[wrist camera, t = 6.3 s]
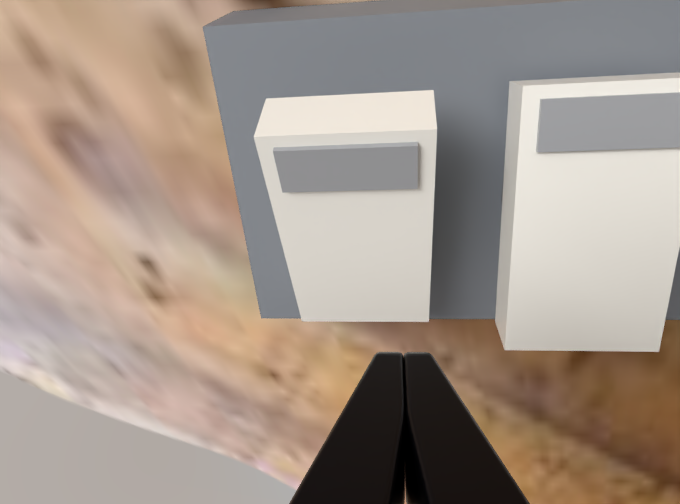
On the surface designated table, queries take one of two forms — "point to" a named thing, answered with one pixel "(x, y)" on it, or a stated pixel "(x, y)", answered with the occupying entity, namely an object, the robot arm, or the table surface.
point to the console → (450, 105)
